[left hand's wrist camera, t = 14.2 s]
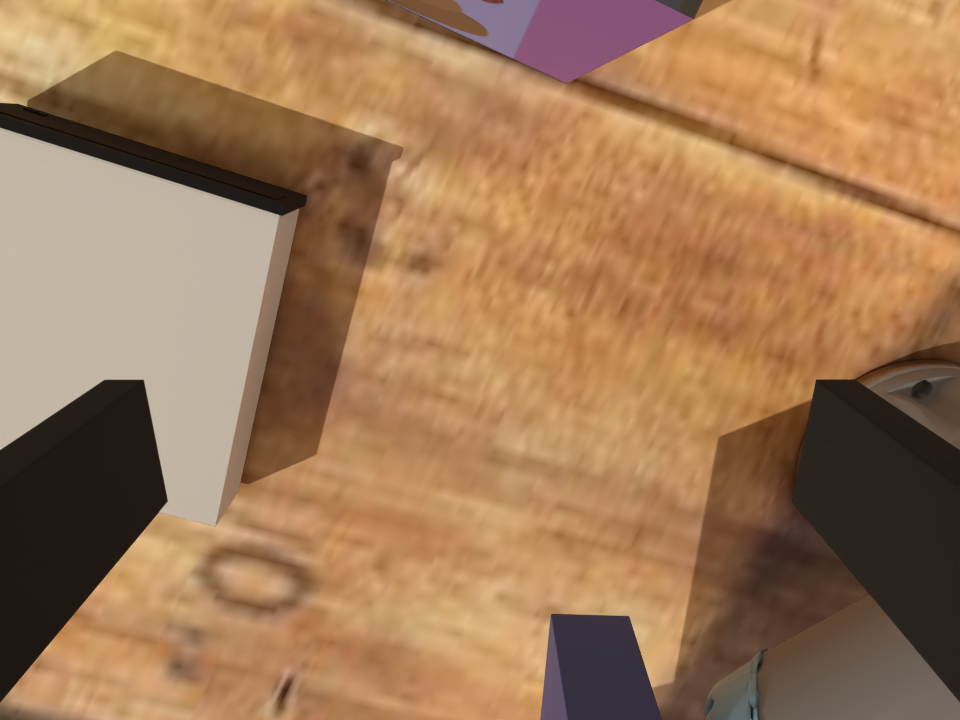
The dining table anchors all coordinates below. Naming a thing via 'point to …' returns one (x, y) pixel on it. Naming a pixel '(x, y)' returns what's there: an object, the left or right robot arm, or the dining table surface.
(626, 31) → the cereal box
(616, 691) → the bar
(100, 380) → the disc drive
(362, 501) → the dining table surface
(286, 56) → the dining table surface
